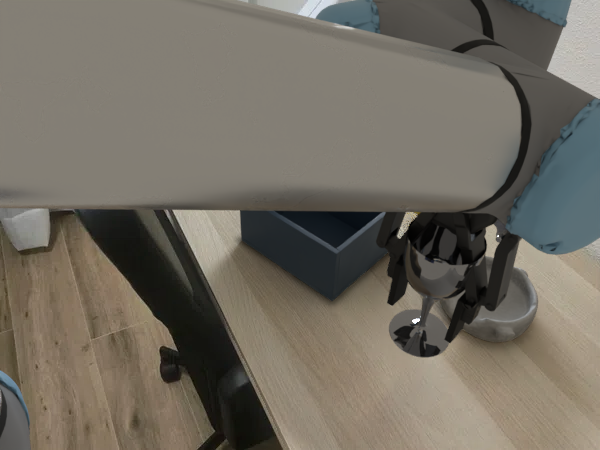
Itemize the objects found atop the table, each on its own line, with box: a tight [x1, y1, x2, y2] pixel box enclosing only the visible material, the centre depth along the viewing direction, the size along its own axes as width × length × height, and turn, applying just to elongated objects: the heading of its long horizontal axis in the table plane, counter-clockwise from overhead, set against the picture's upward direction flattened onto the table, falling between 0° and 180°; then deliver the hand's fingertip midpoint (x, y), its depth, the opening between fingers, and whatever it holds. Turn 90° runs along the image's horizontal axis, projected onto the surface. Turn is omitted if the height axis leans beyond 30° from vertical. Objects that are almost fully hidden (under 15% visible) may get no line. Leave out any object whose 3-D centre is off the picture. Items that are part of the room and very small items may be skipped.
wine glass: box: [388, 218, 488, 359], centre depth 60 cm, size 8×8×15 cm
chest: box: [239, 210, 389, 302], centre depth 89 cm, size 20×16×10 cm
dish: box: [440, 255, 539, 343], centre depth 81 cm, size 14×14×5 cm
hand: (424, 315), depth 63 cm, fingers closed on wine glass, 7 cm apart
